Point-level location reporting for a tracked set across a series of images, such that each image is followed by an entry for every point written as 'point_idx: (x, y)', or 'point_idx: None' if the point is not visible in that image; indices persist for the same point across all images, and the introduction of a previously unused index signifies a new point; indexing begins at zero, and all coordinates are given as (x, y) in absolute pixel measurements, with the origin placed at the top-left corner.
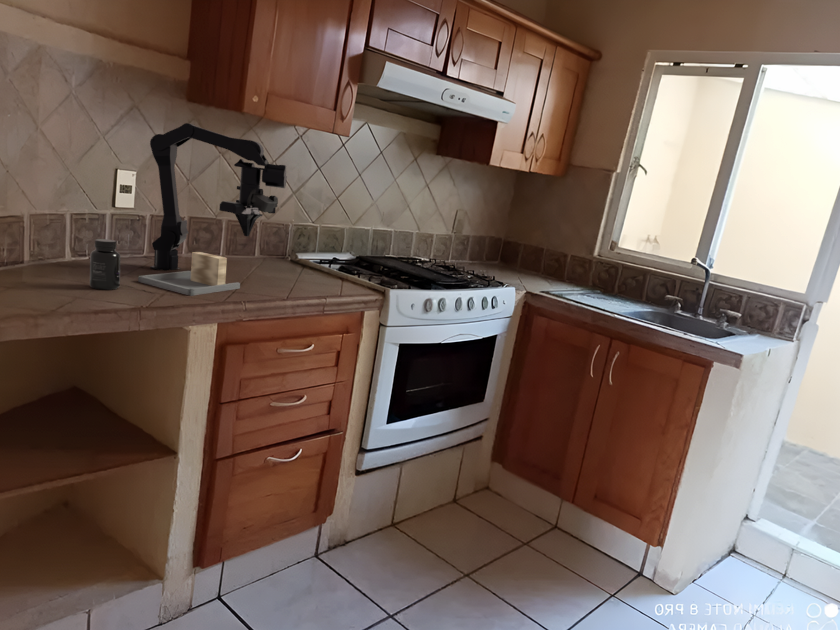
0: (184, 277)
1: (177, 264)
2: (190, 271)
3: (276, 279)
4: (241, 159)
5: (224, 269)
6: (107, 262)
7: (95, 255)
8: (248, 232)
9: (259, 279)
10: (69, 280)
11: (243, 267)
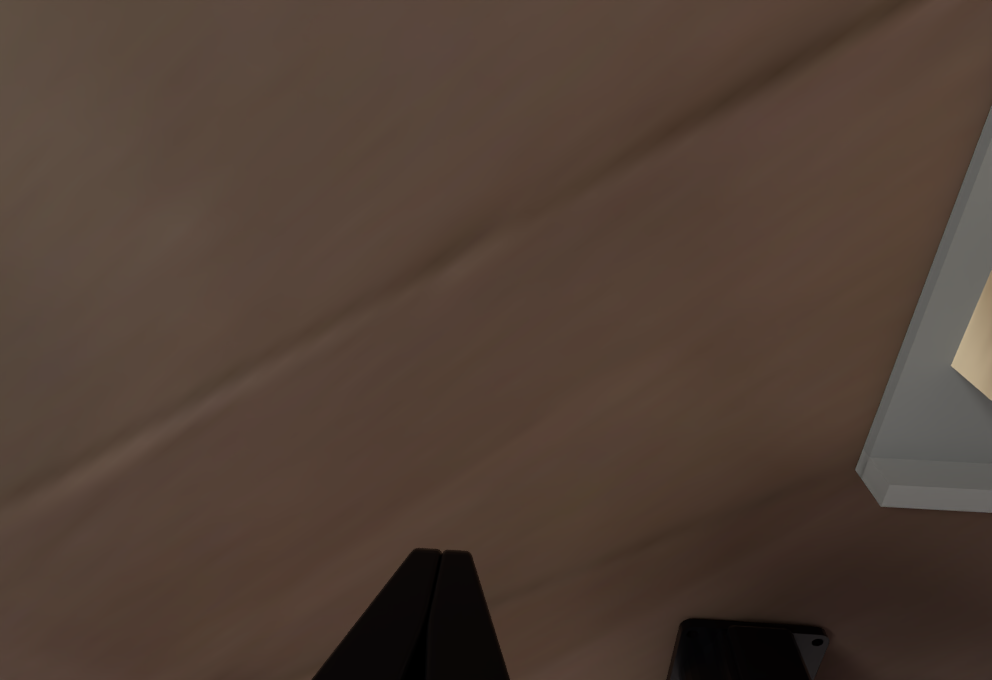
0: (963, 455)
1: (746, 653)
2: (912, 485)
3: (219, 51)
4: None
5: None
6: None
7: None
8: (437, 606)
9: (396, 145)
10: None
11: (171, 514)
